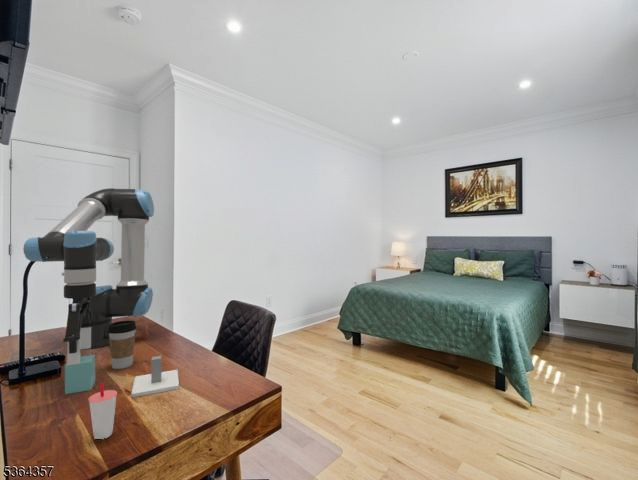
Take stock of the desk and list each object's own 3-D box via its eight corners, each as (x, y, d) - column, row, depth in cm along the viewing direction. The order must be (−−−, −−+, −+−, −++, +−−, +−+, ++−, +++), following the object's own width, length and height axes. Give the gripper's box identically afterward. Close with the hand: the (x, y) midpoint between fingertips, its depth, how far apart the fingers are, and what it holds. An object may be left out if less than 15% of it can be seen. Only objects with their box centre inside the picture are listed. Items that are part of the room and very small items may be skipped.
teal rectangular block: (71, 385, 93) (70, 357, 93) (95, 381, 96) (95, 354, 96) (65, 394, 88) (64, 365, 88) (90, 389, 91) (90, 361, 91)
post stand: (135, 379, 97) (135, 354, 97) (177, 372, 103) (177, 348, 102) (131, 397, 86) (131, 369, 86) (178, 388, 92) (178, 361, 92)
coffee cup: (122, 371, 103) (122, 326, 103) (101, 369, 104) (101, 324, 104) (142, 361, 111) (142, 319, 111) (121, 359, 113) (121, 318, 112)
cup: (82, 439, 69) (82, 385, 69) (106, 425, 74) (106, 375, 74) (99, 445, 67) (99, 389, 67) (122, 430, 72) (122, 379, 72)
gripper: (75, 279, 101) (75, 344, 101) (49, 290, 79) (49, 374, 79) (103, 278, 104) (103, 341, 104) (85, 288, 82) (85, 369, 82)
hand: (80, 355), depth 92 cm, fingers open, 13 cm apart
